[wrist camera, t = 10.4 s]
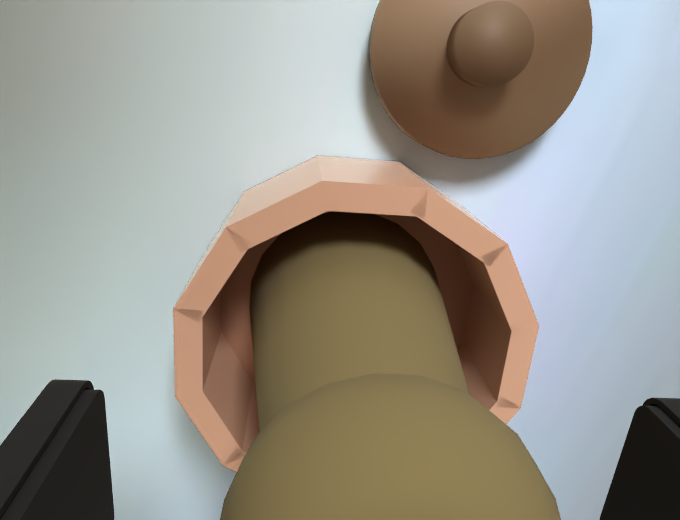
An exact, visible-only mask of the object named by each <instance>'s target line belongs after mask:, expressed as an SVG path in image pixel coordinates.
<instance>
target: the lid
mask: <svg viewBox="0 0 680 520" xmlns="http://www.w3.org/2000/svg"><path fill="white" fill-rule="evenodd" d="M591 44H592V17H591V9H590V4H589V0H380V2H379V4H378V6H377V9H376V12H375V15H374V19H373V22H372V27H371V34H370V43H369V59H370V69H371V74H372V79H373V83H374V86H375V89H376V92H377V95H378V97H379V99H380V101H381V103H382V105H383V107H384V109H385V110H386V112H387V113H388V115H389V116H390V118H391V119H392V120H393V121H394V122H395V123H396V125H397V126H398V127H399V128H400V129H401V130H402V131H404V132H405V133H406V134H407V135H408V136H409V137H411V138H412V139H414V140H416V141H417V142H419V143H420V144H422V145H424V146H426V147H428V148H430V149H433V150H435V151H437V152H439V153H442V154H446V155H449V156H452V157H459V158H465V159H481V158H490V157H495V156H499V155H503V154H507V153H509V152H512V151H514V150H517V149H519V148H521V147H523V146H525V145H527V144H528V143H530V142H532V141H533V140H535V139H536V138H538V137H539V136H540V135H542V134H543V133H544V132H545V131H546V130H548V129H549V128H550V127H551V126H552V125H553V124H554V123H555V122H556V121H557V120H558V119H559V117H560V116H561V115H562V114H563V113H564V111H565V110H566V109H567V107H568V106H569V104H570V103H571V101H572V100H573V98H574V96H575V94H576V92H577V91H578V89H579V87H580V84H581V82H582V79H583V77H584V75H585V72H586V68H587V65H588V61H589V57H590V50H591Z"/></svg>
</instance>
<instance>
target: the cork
mask: <svg viewBox="0 0 680 520" xmlns="http://www.w3.org/2000/svg"><path fill="white" fill-rule="evenodd" d="M249 310H250V322H251V334H252V346H253V358H254V370H255V382H256V395H257V407H258V419H259V431H260V433H259V434H258V435H257V436H256V437H255V439H254V440H253V442H252V444H251V446H250V447H249V449H248V451H247V453H246V454H245V456H244V458H243V460H242V462H241V464H240V466H239V469H238V471H237V473H236V475H235V477H234V480H233V482H232V484H231V486H230V488H229V491H228V493H227V495H226V497H225V499H224V504H223V508H222V513H221V518H220V520H561V518H560V514H559V511H558V507H557V503H556V499H555V497H554V495H553V493H552V491H551V490H550V488H549V486H548V484H547V483H546V481H545V479H544V477H543V476H542V474H541V472H540V470H539V469H538V467H537V465H536V463H535V462H534V460H533V458H532V457H531V455H530V453H529V452H528V450H527V449H526V447H525V445H524V444H523V442H522V441H521V439H520V437H519V436H518V434H517V433H515V432H514V431H513V430H512V429H511V428H510V427H508V426H507V425H506V424H505V423H504V422H502V421H501V420H500V419H499V418H498V417H497V416H495V415H494V414H493V413H492V412H490V411H489V410H488V409H487V408H485V407H484V406H483V405H482V404H480V403H479V402H478V401H477V400H475V399H474V398H473V397H472V396H470V395H469V391H468V388H467V384H466V381H465V377H464V373H463V370H462V366H461V363H460V359H459V355H458V352H457V348H456V345H455V341H454V338H453V334H452V330H451V327H450V323H449V320H448V316H447V312H446V309H445V305H444V302H443V298H442V294H441V291H440V287H439V284H438V280H437V277H436V273H435V269H434V267H433V265H432V263H431V261H430V260H429V258H428V256H427V254H426V252H425V251H424V249H423V247H422V245H421V244H420V242H418V241H417V240H416V239H415V238H414V237H413V236H412V235H410V234H409V233H408V232H407V231H406V230H405V229H404V228H402V227H401V226H400V225H399V224H397V223H395V222H393V221H390V220H388V219H385V218H383V217H381V216H378V215H376V214H370V213H354V212H339V211H331V212H327V213H322V214H320V215H318V216H316V217H314V218H312V219H310V220H308V221H305V222H303V223H301V224H299V225H297V226H295V227H293V228H291V229H289V230H287V231H285V232H283V233H281V234H280V235H279V236H278V237H277V238H276V239H275V241H274V242H273V243H272V244H271V245H270V246H269V247H268V249H267V250H266V251H265V252H264V253H263V254H262V256H261V258H260V261H259V263H258V266H257V268H256V270H255V273H254V275H253V278H252V280H251V288H250V309H249Z"/></svg>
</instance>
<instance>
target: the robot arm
mask: <svg viewBox="0 0 680 520" xmlns="http://www.w3.org/2000/svg"><path fill="white" fill-rule="evenodd" d="M0 520H114V506H113V494H112V482H111V470H110V458H109V446H108V434H107V422H106V410H105V398H104V393H103V391H102V390H94V388H93V385H92V383H91V382H90V381H84V380H52V381H50V382H49V383H48V384H47V386H46V387H45V388H44V390H43V391H42V392H41V393H40V395H39V396H38V397H37V399H36V400H35V401H34V403H33V404H32V405H31V406H30V408H29V409H28V410H27V412H26V413H25V414H24V416H23V417H22V418H21V419H20V421H19V422H18V423H17V425H16V426H15V427H14V429H13V430H12V431H11V432H10V434H9V435H8V436H7V438H6V439H5V440H4V442H3V443H2V444H1V445H0ZM600 520H680V399H676V398H650V399H647V400H646V401H645V402H644V404H643V406H639V407H638V408H637V409H636V411H635V413H634V416H633V419H632V422H631V425H630V428H629V431H628V434H627V437H626V440H625V443H624V446H623V449H622V452H621V455H620V458H619V461H618V464H617V467H616V470H615V474H614V477H613V480H612V483H611V486H610V489H609V492H608V495H607V498H606V501H605V504H604V507H603V510H602V513H601V516H600Z"/></svg>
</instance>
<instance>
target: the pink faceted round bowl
mask: <svg viewBox="0 0 680 520" xmlns="http://www.w3.org/2000/svg"><path fill="white" fill-rule="evenodd" d="M331 211H339V212H354V213H370V214H376V215H378V216H381V217H383V218H385V219H388V220H390V221H393V222H395V223H397V224H399V225H400V226H401V227H402V228H404V229H405V230H406V231H407V232H408V233H409V234H410V235H412V236H413V237H414V238H415V239H416V240H417V241H418V242H420V244H421V245H422V247H423V249H424V251H425V252H426V254H427V256H428V258H429V260H430V261H431V263H432V265H433V267H434V269H435V273H436V277H437V280H438V284H439V287H440V291H441V294H442V298H443V302H444V305H445V309H446V312H447V316H448V320H449V323H450V327H451V330H452V334H453V338H454V341H455V345H456V348H457V352H458V355H459V359H460V363H461V366H462V370H463V373H464V377H465V381H466V384H467V388H468V391H469V395H470V396H472V397H473V398H474V399H475V400H477V401H478V402H479V403H480V404H482V405H483V406H484V407H485V408H487V409H488V410H489V411H490V412H492V413H493V414H494V415H495V416H497V417H498V418H499V419H500V420H501V421H502V422H504V423H505V424H507V423H508V422H509V421H510V419H511V418H512V417H513V416H514V415H515V414H516V413H517V412H518V411H519V409H520V408H521V405H522V400H523V396H524V391H525V387H526V382H527V378H528V373H529V369H530V365H531V360H532V356H533V351H534V347H535V342H536V338H537V333H538V329H539V325H538V322H537V319H536V317H535V314H534V311H533V309H532V306H531V304H530V301H529V298H528V296H527V293H526V290H525V288H524V285H523V283H522V280H521V277H520V275H519V272H518V269H517V267H516V264H515V262H514V259H513V256H512V254H511V251H510V248H509V246H508V244H507V243H506V242H505V241H504V240H502V239H501V238H500V237H499V236H498V235H496V234H495V233H494V232H493V231H492V230H490V229H489V228H488V227H487V226H486V225H484V224H483V223H482V222H481V221H480V220H478V219H477V218H476V217H475V216H474V215H472V214H471V213H470V212H469V211H468V210H466V209H465V208H464V207H463V206H461V205H460V204H458V203H457V202H456V201H454V200H453V199H451V198H450V197H449V196H447V195H446V194H444V193H443V192H442V191H440V190H439V189H437V188H436V187H434V186H433V185H432V184H430V183H429V182H427V181H426V180H425V179H423V178H422V177H420V176H419V175H418V174H416V173H415V172H413V171H412V170H411V169H409V168H408V167H406V166H405V165H403V164H402V163H401V162H398V161H385V160H371V159H357V158H344V157H330V156H316V157H314V158H312V159H310V160H308V161H306V162H304V163H301V164H299V165H297V166H295V167H293V168H291V169H289V170H287V171H285V172H283V173H281V174H279V175H277V176H275V177H273V178H271V179H269V180H267V181H265V182H263V183H261V184H259V185H257V186H254V187H252V188H250V189H248V190H246V191H244V192H243V194H242V196H241V197H240V199H239V200H238V202H237V203H236V205H235V206H234V208H233V210H232V211H231V213H230V214H229V216H228V217H227V219H226V220H225V222H224V224H223V225H222V227H221V228H220V230H219V231H218V233H217V235H216V236H215V238H214V239H213V241H212V242H211V244H210V245H209V247H208V249H207V250H206V252H205V253H204V255H203V256H202V258H201V260H200V262H199V263H198V265H197V267H196V269H195V271H194V272H193V274H192V276H191V278H190V280H189V281H188V283H187V285H186V287H185V289H184V290H183V292H182V294H181V296H180V298H179V299H178V301H177V303H176V305H175V307H174V309H173V316H174V364H175V397H176V399H177V400H178V401H179V403H180V404H181V406H182V407H183V409H184V410H185V412H186V413H187V414H188V416H189V417H190V419H191V420H192V422H193V423H194V425H195V426H196V427H197V429H198V430H199V432H200V433H201V435H202V436H203V438H204V439H205V440H206V442H207V443H208V445H209V446H210V448H211V449H212V451H213V452H214V454H215V455H216V456H217V458H218V459H219V461H220V462H221V464H222V465H223V466H224V467H227V468H229V469H231V470H233V471H235V472H237V471H238V469H239V466H240V464H241V462H242V460H243V458H244V456H245V454H246V453H247V451H248V449H249V447H250V446H251V444H252V442H253V440H254V439H255V437H256V436H257V435H258V434H259V433H260V431H259V419H258V407H257V395H256V382H255V370H254V358H253V346H252V334H251V322H250V310H249V309H250V288H251V280H252V278H253V275H254V273H255V270H256V268H257V266H258V263H259V261H260V258H261V256H262V254H263V253H264V252H265V251H266V250H267V249H268V247H269V246H270V245H271V244H272V243H273V242H274V241H275V239H276V238H277V237H278V236H279V235H280V234H281V233H283V232H285V231H287V230H289V229H291V228H293V227H295V226H297V225H299V224H301V223H303V222H305V221H308V220H310V219H312V218H314V217H316V216H318V215H320V214H322V213H327V212H331Z"/></svg>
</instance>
